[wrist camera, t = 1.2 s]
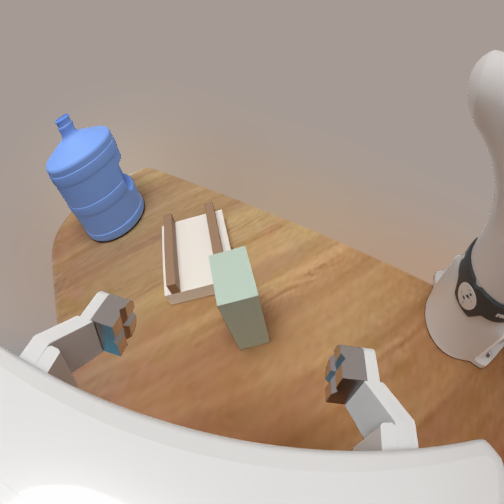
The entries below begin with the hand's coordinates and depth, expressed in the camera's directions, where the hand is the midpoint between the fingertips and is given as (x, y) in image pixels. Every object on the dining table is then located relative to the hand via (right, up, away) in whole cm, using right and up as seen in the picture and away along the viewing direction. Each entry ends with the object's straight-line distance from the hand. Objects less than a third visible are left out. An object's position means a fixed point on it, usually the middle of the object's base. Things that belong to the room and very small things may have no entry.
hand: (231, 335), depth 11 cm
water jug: (-31, +11, +54) cm, 63 cm away
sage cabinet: (0, -8, +33) cm, 34 cm away
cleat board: (-9, +2, +42) cm, 43 cm away
